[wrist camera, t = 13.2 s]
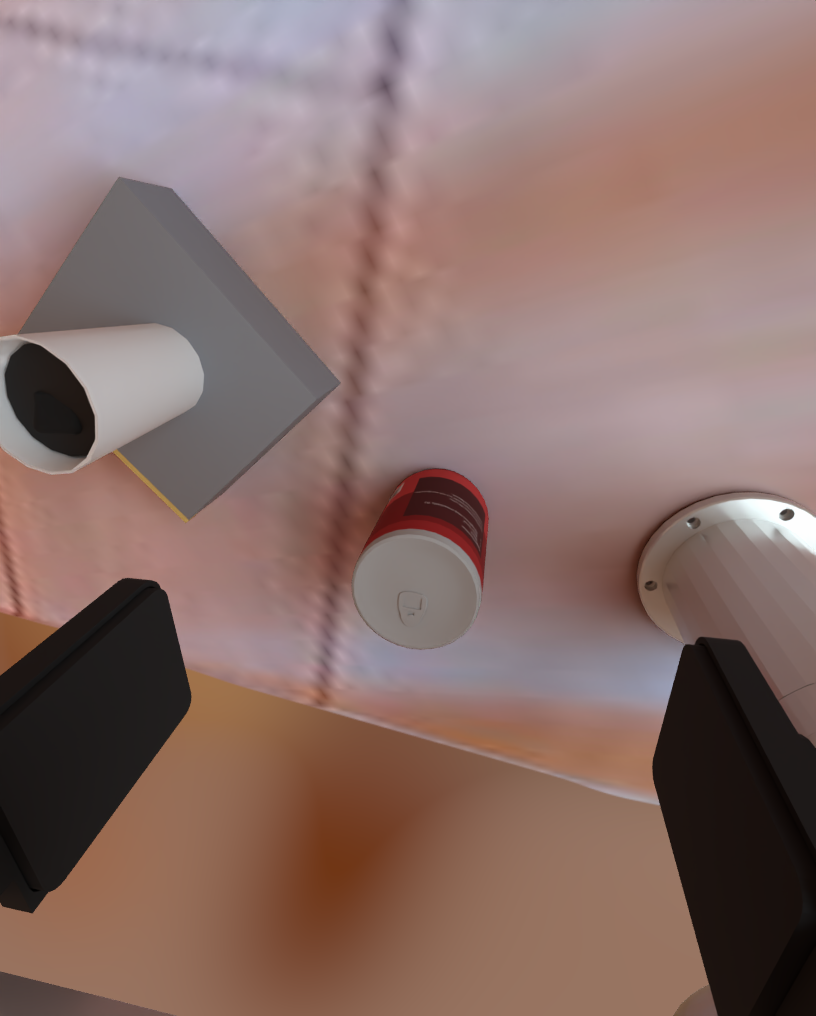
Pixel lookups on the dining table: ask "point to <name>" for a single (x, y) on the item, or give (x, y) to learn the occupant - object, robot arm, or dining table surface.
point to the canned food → (424, 562)
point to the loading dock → (204, 323)
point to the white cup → (91, 391)
